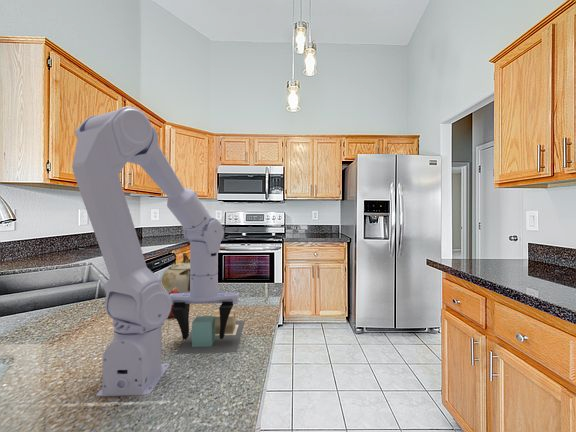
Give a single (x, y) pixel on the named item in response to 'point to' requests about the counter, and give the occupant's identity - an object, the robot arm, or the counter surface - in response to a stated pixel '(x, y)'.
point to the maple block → (229, 326)
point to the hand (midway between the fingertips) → (204, 337)
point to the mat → (215, 343)
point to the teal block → (203, 331)
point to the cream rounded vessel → (178, 276)
